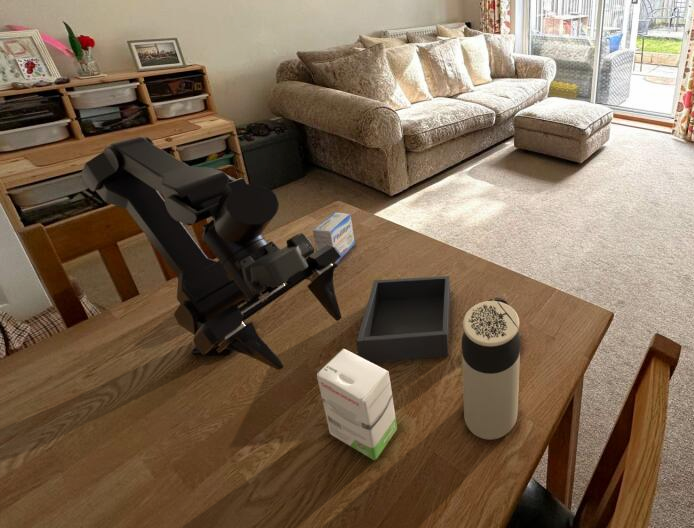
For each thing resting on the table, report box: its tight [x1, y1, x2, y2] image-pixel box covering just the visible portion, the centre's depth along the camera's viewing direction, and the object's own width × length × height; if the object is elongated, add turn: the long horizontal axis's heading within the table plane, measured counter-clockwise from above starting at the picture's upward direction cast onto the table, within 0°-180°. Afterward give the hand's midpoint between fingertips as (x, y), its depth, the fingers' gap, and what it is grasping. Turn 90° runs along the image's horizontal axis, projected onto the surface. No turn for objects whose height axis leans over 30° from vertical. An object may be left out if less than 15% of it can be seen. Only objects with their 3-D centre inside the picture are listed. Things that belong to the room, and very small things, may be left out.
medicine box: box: [312, 212, 356, 265], centre depth 93 cm, size 8×4×9 cm, turn 168°
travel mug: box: [461, 300, 521, 440], centre depth 57 cm, size 8×8×18 cm
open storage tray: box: [356, 275, 451, 364], centre depth 74 cm, size 15×15×5 cm
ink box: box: [316, 348, 398, 461], centre depth 55 cm, size 9×5×12 cm, turn 65°
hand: (312, 342), depth 55 cm, fingers open, 9 cm apart
